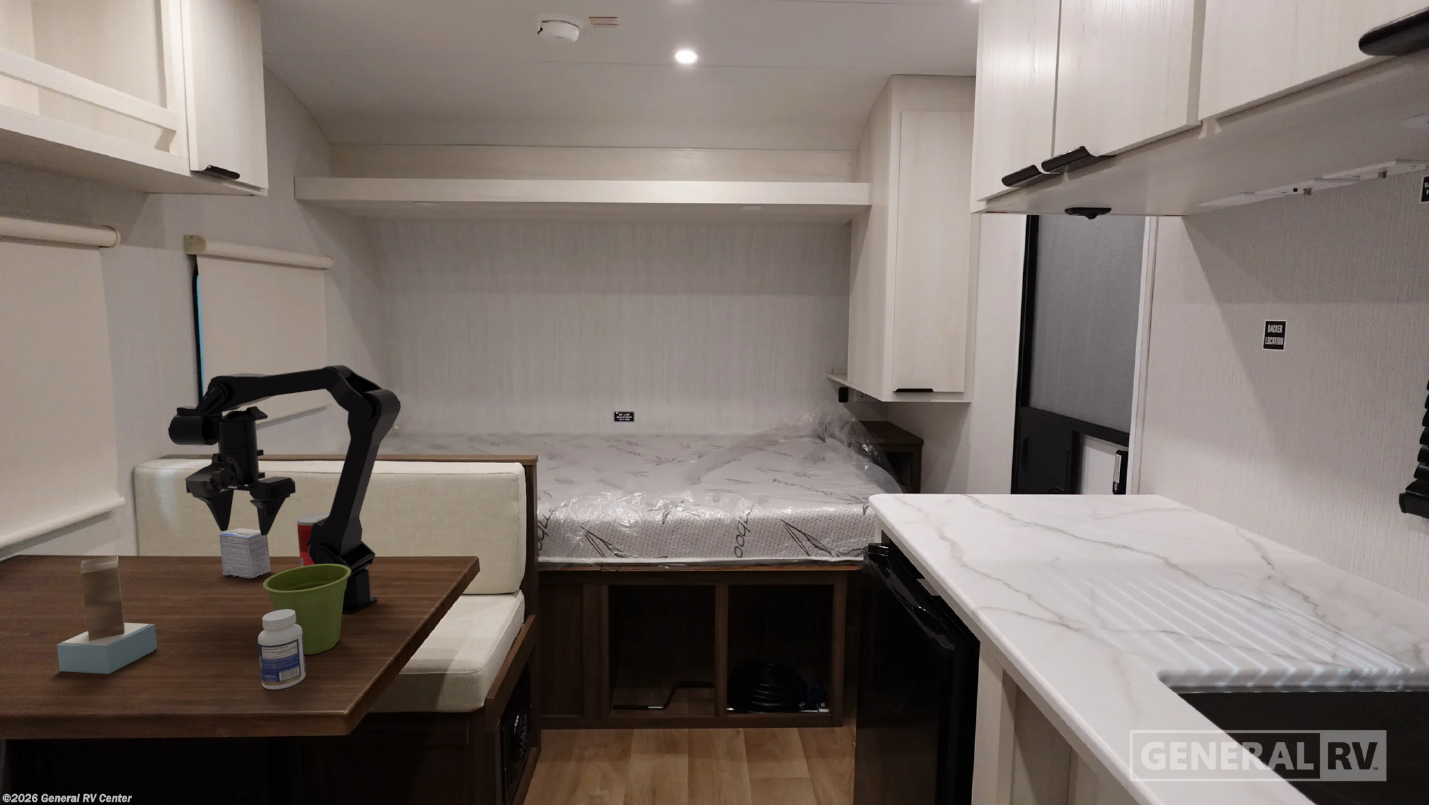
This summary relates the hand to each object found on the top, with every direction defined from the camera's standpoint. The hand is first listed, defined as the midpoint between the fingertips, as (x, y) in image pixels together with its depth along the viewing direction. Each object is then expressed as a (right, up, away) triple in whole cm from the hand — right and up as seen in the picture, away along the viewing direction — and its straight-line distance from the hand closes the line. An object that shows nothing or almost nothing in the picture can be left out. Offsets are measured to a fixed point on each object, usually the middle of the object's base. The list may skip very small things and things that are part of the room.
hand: (244, 533), depth 130 cm
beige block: (-7, -11, -20) cm, 24 cm away
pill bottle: (+23, -16, -27) cm, 39 cm away
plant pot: (+21, -15, -16) cm, 30 cm away
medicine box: (-11, -12, +18) cm, 24 cm away
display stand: (-7, -16, -20) cm, 26 cm away
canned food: (+4, -11, +19) cm, 23 cm away
